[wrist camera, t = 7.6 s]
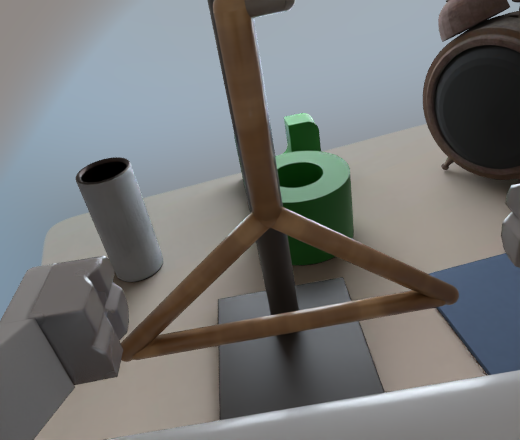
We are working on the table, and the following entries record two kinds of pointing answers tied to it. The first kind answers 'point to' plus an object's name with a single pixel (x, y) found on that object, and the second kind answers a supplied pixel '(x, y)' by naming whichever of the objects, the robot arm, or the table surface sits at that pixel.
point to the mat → (486, 311)
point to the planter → (120, 218)
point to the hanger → (271, 223)
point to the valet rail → (292, 344)
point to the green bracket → (313, 186)
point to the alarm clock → (477, 88)
